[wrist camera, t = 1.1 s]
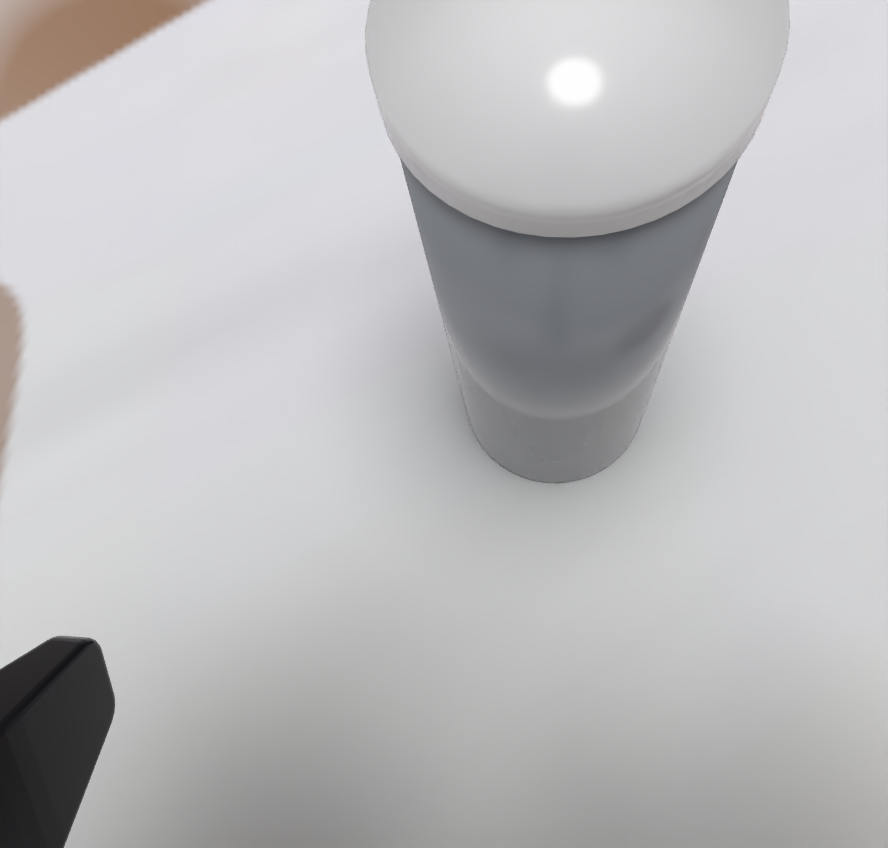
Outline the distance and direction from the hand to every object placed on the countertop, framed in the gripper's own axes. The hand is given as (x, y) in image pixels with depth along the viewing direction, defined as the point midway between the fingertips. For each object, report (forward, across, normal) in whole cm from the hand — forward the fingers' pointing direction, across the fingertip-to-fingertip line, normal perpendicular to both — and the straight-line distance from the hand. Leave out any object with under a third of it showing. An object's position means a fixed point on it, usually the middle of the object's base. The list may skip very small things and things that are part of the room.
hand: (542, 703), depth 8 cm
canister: (+15, 0, +4) cm, 16 cm away
